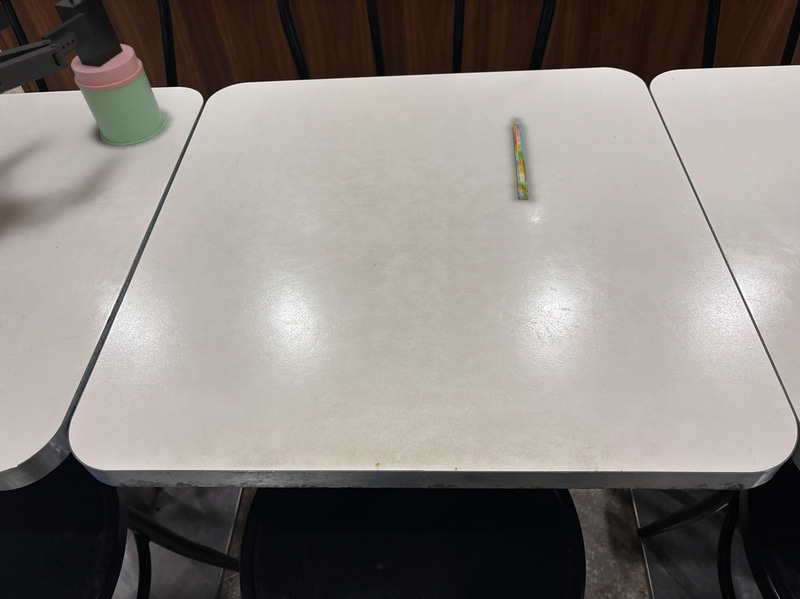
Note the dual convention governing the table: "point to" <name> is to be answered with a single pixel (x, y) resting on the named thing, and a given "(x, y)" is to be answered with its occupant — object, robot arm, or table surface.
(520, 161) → the pencil
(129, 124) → the green canister pink lid
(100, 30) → the wall charger plug
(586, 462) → the table surface
